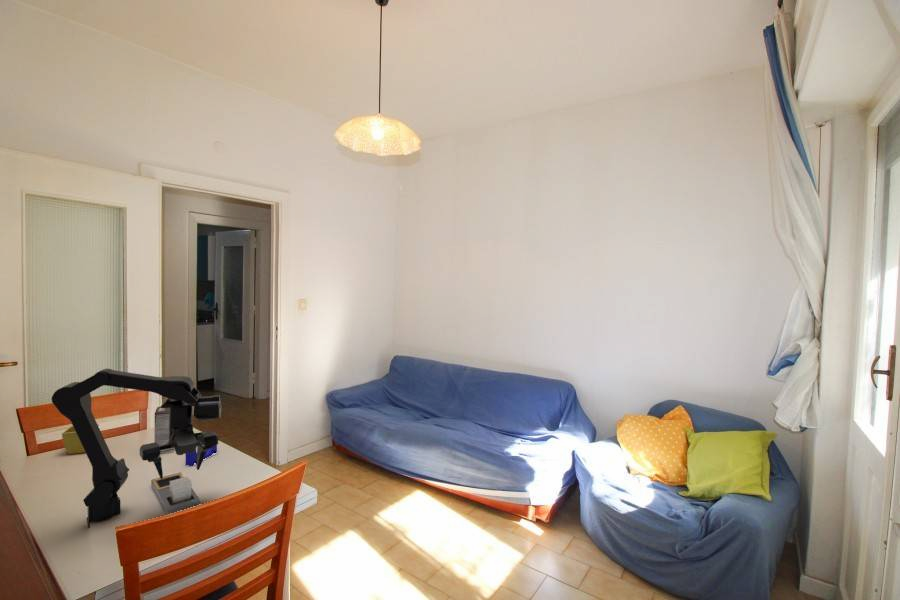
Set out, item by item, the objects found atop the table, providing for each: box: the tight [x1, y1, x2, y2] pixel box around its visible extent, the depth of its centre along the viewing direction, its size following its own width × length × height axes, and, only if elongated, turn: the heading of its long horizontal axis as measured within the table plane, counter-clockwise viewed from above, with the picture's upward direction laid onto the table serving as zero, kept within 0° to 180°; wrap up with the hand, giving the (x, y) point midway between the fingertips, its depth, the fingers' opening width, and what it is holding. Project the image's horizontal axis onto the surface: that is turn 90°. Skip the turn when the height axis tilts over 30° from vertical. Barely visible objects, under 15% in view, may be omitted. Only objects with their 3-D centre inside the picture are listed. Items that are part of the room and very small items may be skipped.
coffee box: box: [153, 406, 175, 455], centre depth 165 cm, size 9×6×16 cm
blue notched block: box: [185, 444, 218, 467], centre depth 157 cm, size 12×4×6 cm, turn 170°
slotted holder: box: [150, 472, 201, 515], centre depth 128 cm, size 8×24×3 cm, turn 44°
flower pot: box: [61, 423, 100, 455], centre depth 161 cm, size 9×9×9 cm
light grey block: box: [170, 476, 192, 506], centre depth 123 cm, size 4×4×7 cm
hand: (180, 473), depth 123 cm, fingers open, 9 cm apart
